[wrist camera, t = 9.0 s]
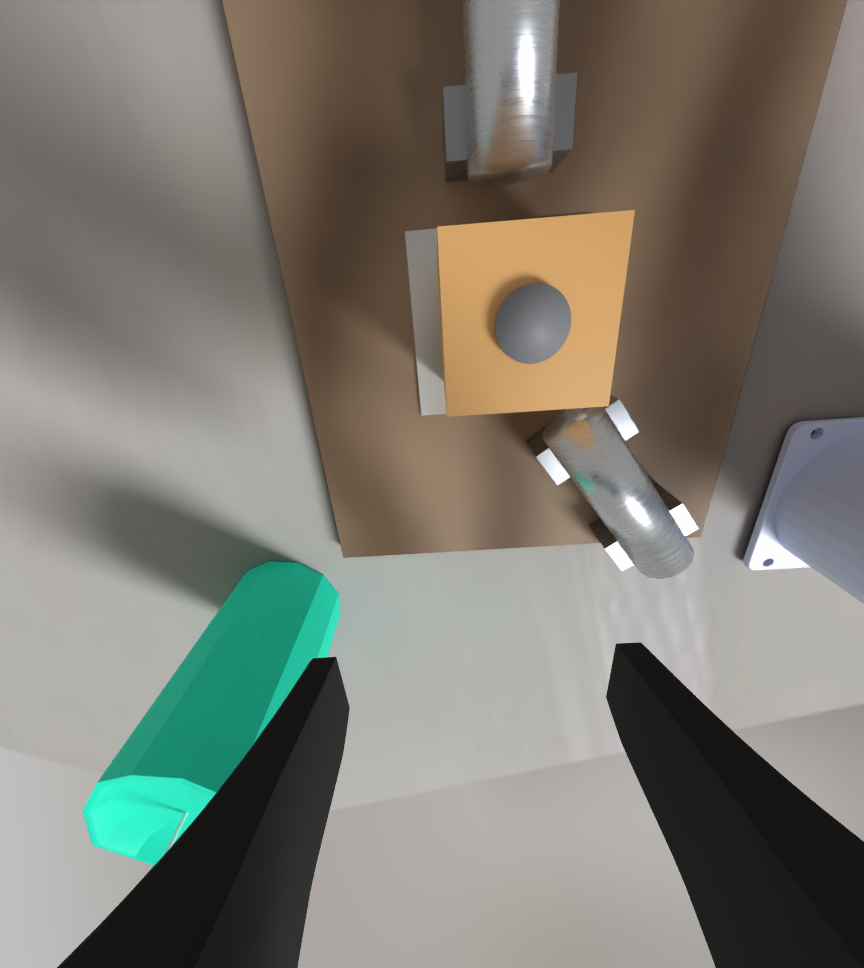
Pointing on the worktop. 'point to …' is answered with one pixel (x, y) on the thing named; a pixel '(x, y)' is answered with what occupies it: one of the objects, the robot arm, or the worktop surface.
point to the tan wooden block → (531, 311)
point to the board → (566, 191)
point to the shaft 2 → (617, 489)
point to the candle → (213, 709)
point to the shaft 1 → (508, 95)
